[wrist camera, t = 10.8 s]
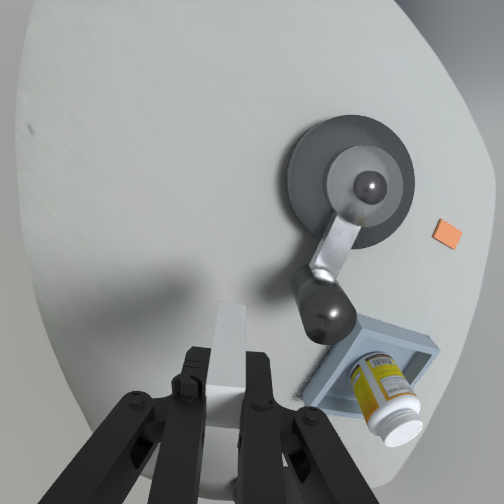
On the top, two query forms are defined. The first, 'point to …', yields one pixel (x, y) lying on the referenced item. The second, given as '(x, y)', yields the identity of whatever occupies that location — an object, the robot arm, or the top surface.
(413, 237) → the top surface
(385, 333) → the tray
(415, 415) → the supplement bottle
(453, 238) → the orange flat block
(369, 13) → the top surface
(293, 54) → the top surface
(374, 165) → the crank
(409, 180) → the crank housing
